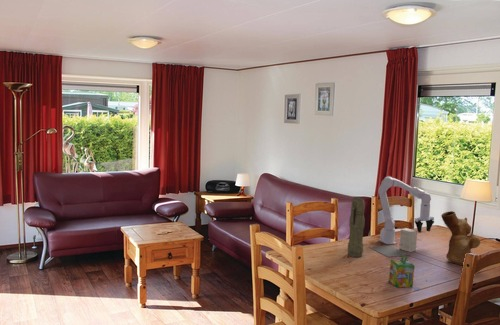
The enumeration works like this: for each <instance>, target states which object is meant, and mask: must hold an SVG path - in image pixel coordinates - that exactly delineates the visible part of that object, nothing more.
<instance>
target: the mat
mask: <svg viewBox="0 0 500 325" xmlns="http://www.w3.org/2000/svg"><path fill="white" fill-rule="evenodd" d="M368 248H369V249H371V250H373V251H375V252H378V253H379V254H380V255H382V256H385V257H387V258H396V257H402V255H404V256H406V257H407V256H411V254H409V253H408V252H405V251H404V250H401V249H400V248H396V247H394V246H393V245H379V246H368Z"/></svg>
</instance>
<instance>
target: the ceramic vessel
mask: <svg viewBox="0 0 500 325" xmlns="http://www.w3.org/2000/svg"><path fill="white" fill-rule="evenodd" d="M440 216H441V218H442V221H443V223H444V225H446V227H447V228H448V229H449V230H450V232H451V236H450V238H449V241H448V251H447V253H446V255H445V257H446V259H447V260H448V262H450V263H452V264H456V265H458V266H459V265H460V266H464V265H463V262H464V258H465V254H466V253H472V251H471V249H476V248H478V247H479V246H480V245H481V239H480V238H479V237H478V236H477V235H475V234H474V233H473V232H472V226H471V225H470V224H469V223H468V218H467V217H464V219H463V218H458V217H457V215H456V212H455V211H452V210H451V211H446V212H443V213H441V215H440ZM469 234H470V235H469Z"/></svg>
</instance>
